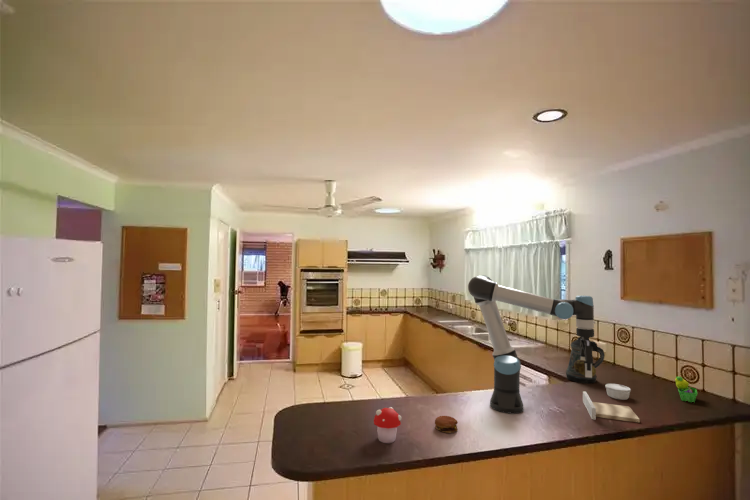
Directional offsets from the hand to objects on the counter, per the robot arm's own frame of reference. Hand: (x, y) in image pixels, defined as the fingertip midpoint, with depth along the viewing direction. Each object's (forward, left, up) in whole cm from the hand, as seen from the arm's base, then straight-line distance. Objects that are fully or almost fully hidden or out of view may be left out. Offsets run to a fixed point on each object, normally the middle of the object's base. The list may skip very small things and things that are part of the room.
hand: (586, 373), depth 184 cm
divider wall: (+1, 0, -17) cm, 17 cm away
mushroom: (-79, -65, -17) cm, 104 cm away
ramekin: (+19, +27, -17) cm, 37 cm away
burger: (-59, -47, -17) cm, 77 cm away
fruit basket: (+52, +37, -17) cm, 66 cm away
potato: (0, 0, -1) cm, 1 cm away
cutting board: (+11, 0, -17) cm, 20 cm away
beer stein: (+7, +54, -17) cm, 57 cm away
